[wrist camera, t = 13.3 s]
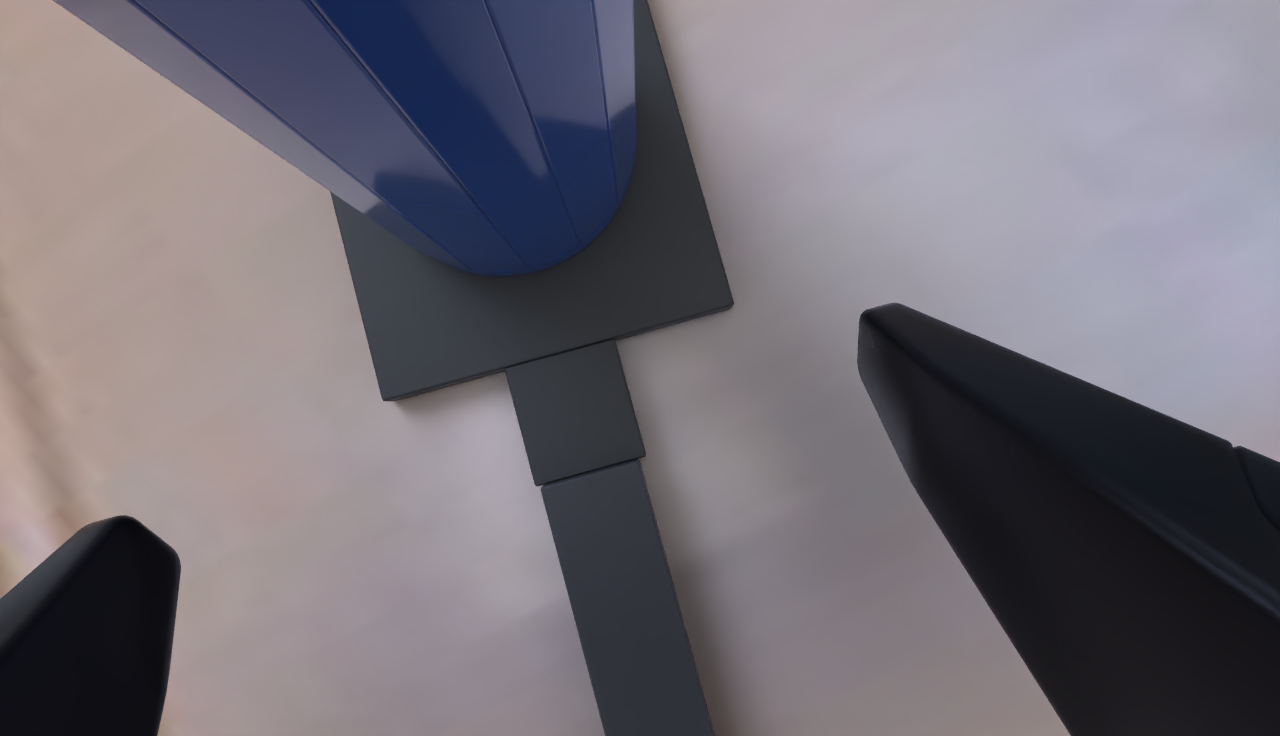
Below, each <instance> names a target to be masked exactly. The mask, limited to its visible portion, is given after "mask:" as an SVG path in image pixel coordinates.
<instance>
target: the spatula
mask: <svg viewBox="0 0 1280 736" xmlns="http://www.w3.org/2000/svg"><path fill="white" fill-rule="evenodd" d="M633 15H634V56H635V96H636V137H637V152H636V158H635V161H634V168H633V173H632V176H631V180H630V183H629V187H628V189H627V192H626V194H625V196H624V198H623V201H622V203H621V205H620V206H619V208H618V210H617V211H616V213H615V215H614V216H613V218H612V219H611V221H610V222H609V223H608V224H607V226H606V227H605V228H604V229H603V231H602V232H601V233H600V234H599V235H598V236H597V237H596V238H595V239H594V240H593V241H591V242H590V243H589V244H588V245H587V246H586V247H584V248H583V249H582V250H580V251H579V252H577V253H576V254H575V255H573V256H571V257H569V258H568V259H566V260H564V261H562V262H560V263H559V264H556V265H553V266H551V267H548V268H546V269H543V270H540V271H536V272H532V273H528V274H523V275H515V276H485V275H478V274H471V273H468V272H464V271H461V270H457V269H454V268H452V267H449V266H447V265H445V264H442V263H440V262H438V261H436V260H435V259H433V258H430V257H427V256H425V255H423V254H421V253H419V252H418V251H416V250H415V249H414V248H412V247H411V246H409V245H408V244H406V243H405V242H403V241H402V240H400V239H399V238H398V237H396V236H395V235H393V234H392V233H390V232H389V231H387V230H386V229H384V228H383V227H382V226H380V225H379V224H377V223H376V222H374V221H373V220H371V219H370V218H368V217H367V216H366V215H364V214H363V213H361V212H360V211H358V210H357V209H355V208H354V207H352V206H351V205H350V204H348V203H347V202H345V201H344V200H342V199H341V198H339V197H338V196H336V195H335V194H334V193H332V192H331V191H330V192H331V196H332V200H333V204H334V208H335V212H336V216H337V220H338V224H339V228H340V232H341V236H342V240H343V244H344V248H345V252H346V256H347V260H348V264H349V268H350V272H351V276H352V280H353V284H354V288H355V292H356V296H357V300H358V304H359V308H360V312H361V316H362V320H363V324H364V328H365V332H366V336H367V340H368V344H369V348H370V352H371V356H372V360H373V364H374V368H375V372H376V376H377V380H378V384H379V388H380V392H381V396H382V399H383V401H396V400H399V399H403V398H407V397H410V396H414V395H418V394H421V393H425V392H429V391H432V390H436V389H440V388H443V387H447V386H450V385H454V384H458V383H461V382H465V381H469V380H472V379H476V378H480V377H483V376H487V375H491V374H494V373H498V372H501V371H505V373H506V376H507V380H508V384H509V388H510V392H511V395H512V399H513V403H514V407H515V411H516V414H517V418H518V422H519V426H520V430H521V433H522V437H523V441H524V445H525V449H526V453H527V456H528V460H529V464H530V468H531V472H532V475H533V479H534V483H535V485H536V486H541V485H544V484H545V485H544V486H543V487H541V493H542V496H543V500H544V504H545V508H546V512H547V515H548V519H549V523H550V527H551V531H552V534H553V538H554V542H555V546H556V550H557V554H558V557H559V561H560V565H561V569H562V573H563V576H564V580H565V584H566V588H567V592H568V595H569V599H570V603H571V607H572V611H573V614H574V618H575V622H576V626H577V630H578V633H579V637H580V641H581V645H582V649H583V652H584V656H585V660H586V664H587V668H588V671H589V675H590V679H591V683H592V687H593V690H594V694H595V698H596V702H597V706H598V709H599V713H600V717H601V721H602V725H603V728H604V732H605V736H715V735H714V731H713V728H712V724H711V720H710V717H709V713H708V709H707V706H706V702H705V698H704V695H703V691H702V687H701V684H700V680H699V676H698V673H697V669H696V665H695V662H694V658H693V654H692V651H691V647H690V643H689V640H688V636H687V632H686V629H685V625H684V621H683V618H682V614H681V610H680V607H679V603H678V599H677V596H676V592H675V588H674V585H673V581H672V577H671V574H670V570H669V566H668V563H667V559H666V555H665V552H664V548H663V545H662V541H661V537H660V534H659V530H658V526H657V523H656V519H655V515H654V512H653V508H652V504H651V501H650V497H649V493H648V490H647V486H646V482H645V479H644V475H643V471H642V468H641V464H640V460H639V458H642V457H645V456H646V452H645V449H644V445H643V441H642V438H641V434H640V430H639V427H638V423H637V419H636V416H635V412H634V408H633V405H632V401H631V397H630V394H629V390H628V387H627V383H626V379H625V376H624V372H623V368H622V365H621V361H620V357H619V354H618V350H617V346H616V343H615V340H618V339H622V338H625V337H629V336H633V335H636V334H640V333H644V332H647V331H651V330H655V329H658V328H662V327H665V326H669V325H673V324H676V323H680V322H684V321H687V320H691V319H695V318H698V317H702V316H706V315H709V314H713V313H716V312H720V311H724V310H727V309H730V308H731V307H732V306H733V305H734V301H733V298H732V294H731V291H730V287H729V284H728V280H727V277H726V273H725V270H724V266H723V263H722V259H721V256H720V252H719V249H718V245H717V242H716V238H715V235H714V232H713V228H712V225H711V221H710V218H709V214H708V211H707V207H706V204H705V200H704V197H703V193H702V190H701V186H700V183H699V179H698V176H697V172H696V169H695V165H694V162H693V158H692V155H691V151H690V148H689V144H688V141H687V137H686V134H685V130H684V127H683V123H682V120H681V116H680V113H679V109H678V106H677V102H676V99H675V96H674V92H673V89H672V85H671V82H670V78H669V75H668V71H667V68H666V64H665V61H664V57H663V54H662V50H661V47H660V43H659V40H658V36H657V33H656V29H655V26H654V22H653V19H652V15H651V12H650V8H649V5H648V1H647V0H633Z"/></svg>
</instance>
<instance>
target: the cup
mask: <svg viewBox="0 0 1280 736" xmlns="http://www.w3.org/2000/svg"><path fill="white" fill-rule="evenodd" d="M53 1H54V2H56V3H57V4H59V5H60V6H62V7H63V8H65V9H66V10H67V11H69V12H70V13H72V14H73V15H75V16H76V17H78V18H79V19H81V20H82V21H83V22H85V23H86V24H88V25H89V26H91V27H92V28H94V29H95V30H97V31H98V32H99V33H101V34H102V35H104V36H105V37H107V38H108V39H110V40H111V41H113V42H114V43H115V44H117V45H118V46H120V47H121V48H123V49H124V50H126V51H127V52H129V53H130V54H131V55H133V56H134V57H136V58H137V59H139V60H140V61H142V62H143V63H144V64H146V65H147V66H149V67H150V68H152V69H153V70H155V71H156V72H158V73H159V74H160V75H162V76H163V77H165V78H166V79H168V80H169V81H171V82H172V83H174V84H175V85H176V86H178V87H179V88H181V89H182V90H184V91H185V92H187V93H188V94H190V95H191V96H192V97H194V98H195V99H197V100H198V101H200V102H201V103H203V104H204V105H206V106H207V107H208V108H210V109H211V110H213V111H214V112H216V113H217V114H219V115H220V116H222V117H223V118H224V119H226V120H227V121H229V122H230V123H232V124H233V125H235V126H236V127H238V128H239V129H240V130H242V131H243V132H245V133H246V134H248V135H249V136H251V137H252V138H254V139H255V140H256V141H258V142H259V143H261V144H262V145H264V146H265V147H267V148H268V149H270V150H271V151H272V152H274V153H275V154H277V155H278V156H280V157H281V158H283V159H284V160H286V161H287V162H288V163H290V164H291V165H293V166H294V167H296V168H297V169H299V170H300V171H302V172H303V173H304V174H306V175H307V176H309V177H310V178H312V179H313V180H315V181H316V182H318V183H319V184H320V185H322V186H323V187H325V188H326V189H328V190H329V191H331V192H332V193H334V194H335V195H336V196H338V197H339V198H341V199H342V200H344V201H345V202H347V203H348V204H350V205H351V206H352V207H354V208H355V209H357V210H358V211H360V212H361V213H363V214H364V215H366V216H367V217H368V218H370V219H371V220H373V221H374V222H376V223H377V224H379V225H380V226H382V227H383V228H384V229H386V230H387V231H389V232H390V233H392V234H393V235H395V236H396V237H398V238H399V239H400V240H402V241H403V242H405V243H406V244H408V245H409V246H411V247H412V248H414V249H415V250H416V251H418V252H419V253H421V254H423V255H425V256H427V257H430V258H433V259H435V260H436V261H438V262H440V263H442V264H445V265H447V266H449V267H452V268H454V269H457V270H461V271H464V272H468V273H471V274H478V275H485V276H515V275H523V274H528V273H532V272H536V271H540V270H543V269H546V268H548V267H551V266H553V265H556V264H559V263H560V262H562V261H564V260H566V259H568V258H569V257H571V256H573V255H575V254H576V253H577V252H579V251H580V250H582V249H583V248H584V247H586V246H587V245H588V244H589V243H590V242H591V241H593V240H594V239H595V238H596V237H597V236H598V235H599V234H600V233H601V232H602V231H603V229H604V228H605V227H606V226H607V224H608V223H609V222H610V221H611V219H612V218H613V216H614V215H615V213H616V211H617V210H618V208H619V206H620V205H621V203H622V201H623V198H624V196H625V194H626V192H627V189H628V187H629V183H630V180H631V176H632V173H633V168H634V161H635V158H636V152H637V137H636V96H635V56H634V15H633V0H53Z"/></svg>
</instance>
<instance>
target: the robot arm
mask: <svg viewBox="0 0 1280 736" xmlns="http://www.w3.org/2000/svg"><path fill="white" fill-rule="evenodd" d="M857 363H858V370H859V374H860V377H861V379H862V382H863V384H864V386H865V388H866V390H867V392H868V394H869V396H870V398H871V401H872V403H873V405H874V407H875V409H876V411H877V413H878V415H879V417H880V419H881V421H882V424H883V426H884V428H885V430H886V432H887V434H888V436H889V438H890V440H891V442H892V444H893V447H894V449H895V451H896V453H897V455H898V457H899V459H900V461H901V463H902V465H903V467H904V469H905V471H906V473H907V475H908V477H909V479H910V481H911V483H912V485H913V486H914V488H915V490H916V491H917V493H918V495H919V496H920V498H921V500H922V501H923V503H924V504H925V506H926V508H927V509H928V511H929V512H930V514H931V516H932V517H933V519H934V520H935V522H936V523H937V525H938V527H939V528H940V530H941V531H942V533H943V534H944V536H945V538H946V539H947V541H948V542H949V544H950V546H951V547H952V549H953V550H954V552H955V553H956V555H957V557H958V558H959V560H960V561H961V563H962V564H963V566H964V568H965V569H966V571H967V572H968V574H969V576H970V577H971V579H972V580H973V582H974V583H975V585H976V587H977V588H978V590H979V591H980V593H981V594H982V596H983V598H984V599H985V601H986V602H987V604H988V606H989V607H990V609H991V610H992V612H993V613H994V615H995V617H996V618H997V620H998V621H999V623H1000V624H1001V626H1002V628H1003V629H1004V631H1005V632H1006V634H1007V636H1008V637H1009V639H1010V640H1011V642H1012V643H1013V645H1014V647H1015V648H1016V650H1017V651H1018V653H1019V654H1020V656H1021V658H1022V659H1023V661H1024V662H1025V664H1026V665H1027V667H1028V669H1029V670H1030V672H1031V673H1032V675H1033V677H1034V678H1035V680H1036V681H1037V683H1038V684H1039V686H1040V688H1041V689H1042V691H1043V692H1044V694H1045V695H1046V697H1047V699H1048V700H1049V702H1050V703H1051V705H1052V707H1053V708H1054V710H1055V711H1056V713H1057V714H1058V716H1059V718H1060V719H1061V721H1062V722H1063V724H1064V725H1065V727H1066V729H1067V730H1068V732H1069V733H1070V735H1071V736H1280V462H1278V461H1275V460H1273V459H1270V458H1268V457H1266V456H1263V455H1261V454H1259V453H1256V452H1254V451H1251V450H1249V449H1247V448H1244V447H1241V446H1237V447H1234V448H1233V446H1232V444H1231V443H1230V442H1229V441H1227V440H1224V439H1222V438H1220V437H1217V436H1215V435H1212V434H1210V433H1208V432H1205V431H1203V430H1201V429H1198V428H1196V427H1193V426H1191V425H1189V424H1186V423H1184V422H1181V421H1179V420H1177V419H1174V418H1172V417H1169V416H1167V415H1165V414H1162V413H1160V412H1158V411H1155V410H1153V409H1150V408H1148V407H1146V406H1143V405H1141V404H1138V403H1136V402H1134V401H1131V400H1129V399H1126V398H1124V397H1122V396H1119V395H1117V394H1115V393H1112V392H1110V391H1107V390H1105V389H1103V388H1100V387H1098V386H1095V385H1093V384H1091V383H1088V382H1086V381H1083V380H1081V379H1079V378H1076V377H1074V376H1072V375H1069V374H1067V373H1064V372H1062V371H1060V370H1057V369H1055V368H1052V367H1050V366H1048V365H1045V364H1043V363H1040V362H1038V361H1036V360H1033V359H1031V358H1028V357H1026V356H1024V355H1021V354H1019V353H1017V352H1014V351H1012V350H1009V349H1007V348H1005V347H1002V346H1000V345H997V344H995V343H993V342H990V341H988V340H985V339H983V338H981V337H978V336H976V335H974V334H971V333H969V332H966V331H964V330H962V329H959V328H957V327H954V326H952V325H950V324H947V323H945V322H942V321H940V320H938V319H935V318H933V317H931V316H928V315H926V314H923V313H921V312H919V311H916V310H914V309H911V308H909V307H907V306H904V305H902V304H898V303H889V304H886V305H882V306H878V307H875V308H871V309H867V310H865V311H864V312H863V313H862V314H861V316H860V320H859V336H858V358H857ZM180 573H181V564H180V559H179V557H178V555H177V553H176V551H175V550H174V549H173V548H172V547H171V546H169V545H168V544H167V543H166V542H164V541H163V540H162V539H161V538H159V537H158V536H157V535H156V534H154V533H153V532H152V531H151V530H149V529H148V528H147V527H146V526H144V525H143V524H142V523H141V522H139V521H138V520H136V519H135V518H133V517H130V516H126V515H124V516H115V517H112V518H108V519H104V520H101V521H97V522H93V523H91V524H88V525H86V526H85V527H83V528H81V529H80V530H79V531H78V532H77V533H75V534H74V535H73V536H72V537H71V538H70V539H69V540H67V541H66V542H65V543H64V544H63V545H62V546H61V547H59V548H58V549H57V550H56V551H55V552H54V553H53V554H51V555H50V556H49V557H48V558H47V559H46V560H45V561H43V562H42V563H41V564H40V565H39V566H38V567H37V568H35V569H34V570H33V571H32V572H31V573H30V574H29V575H27V576H26V577H25V578H24V579H23V580H22V581H21V582H19V583H18V584H17V585H16V586H15V587H14V588H13V589H11V590H10V591H9V592H8V593H7V594H6V595H5V596H3V597H2V598H1V599H0V736H157V734H158V730H159V725H160V721H161V716H162V712H163V707H164V702H165V696H166V691H167V685H168V677H169V670H170V662H171V653H172V644H173V635H174V626H175V617H176V609H177V600H178V591H179V582H180Z"/></svg>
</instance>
